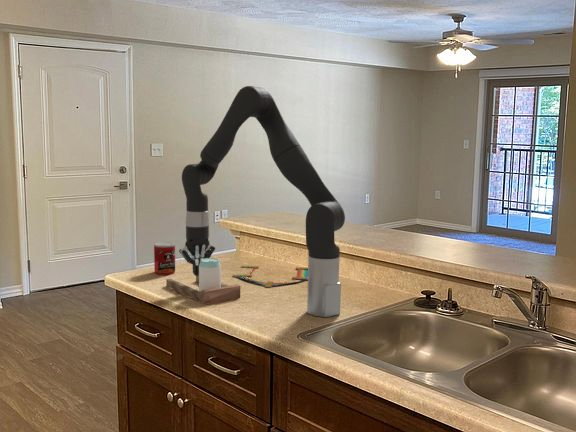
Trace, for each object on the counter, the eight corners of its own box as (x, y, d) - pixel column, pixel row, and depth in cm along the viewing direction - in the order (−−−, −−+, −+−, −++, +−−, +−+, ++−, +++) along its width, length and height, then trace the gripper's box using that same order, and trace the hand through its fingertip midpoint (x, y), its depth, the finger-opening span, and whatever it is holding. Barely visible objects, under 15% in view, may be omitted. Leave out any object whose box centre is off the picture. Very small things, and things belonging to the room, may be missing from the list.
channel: (240, 297, 199) (240, 285, 198) (205, 304, 191) (205, 291, 190) (199, 280, 219) (199, 269, 218) (166, 286, 211) (166, 274, 210)
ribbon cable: (308, 290, 210) (314, 269, 239) (308, 287, 210) (314, 267, 239) (224, 287, 213) (240, 267, 242) (224, 284, 213) (240, 264, 242)
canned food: (158, 276, 225) (158, 246, 223) (151, 271, 232) (151, 242, 230) (178, 273, 229) (178, 244, 227) (171, 269, 235) (170, 241, 234)
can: (225, 295, 201) (225, 259, 199) (210, 300, 195) (210, 263, 193) (209, 291, 205) (209, 256, 203) (194, 296, 199) (194, 260, 197)
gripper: (185, 227, 197) (185, 280, 199) (220, 224, 205) (220, 275, 207) (173, 224, 203) (174, 275, 205) (208, 221, 211) (208, 270, 213)
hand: (197, 275), depth 206 cm, fingers closed
